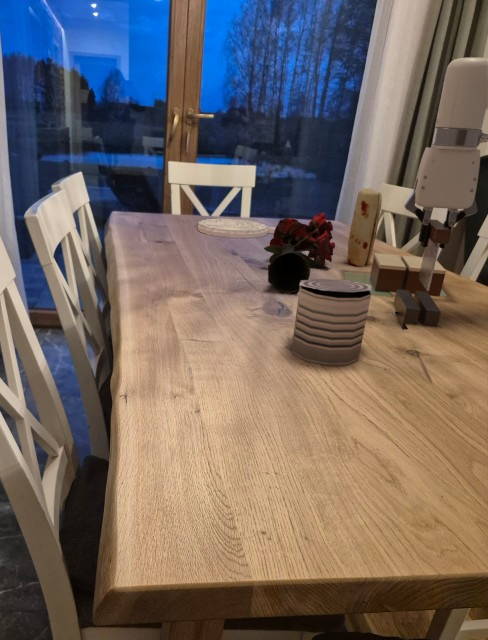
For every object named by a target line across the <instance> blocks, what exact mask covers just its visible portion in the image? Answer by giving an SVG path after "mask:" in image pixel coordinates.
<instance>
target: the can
mask: <svg viewBox="0 0 488 640" xmlns="http://www.w3.org/2000/svg"><path fill="white" fill-rule="evenodd" d="M369 290H373V289H372V287H371V285H368V284H363V283H358V282H353V281H347V280H346V279H330V278H314V279H309V280H301V281H300V290H298V296H297V297H298V298H297V303H296V304H297V306H296V313H295V320H294V328H293V333H292V342H291V352H292V353H293V354H292V353H291V354H292V355H294V356H296V357H297V356H298V357H297V358H299V357H300V358H299V359H301V360H302V361H304V360H305V361H304V362H307V361H309V363H312V362H313V364H317V365H322V366H327V367H328V366H329V367H330V366H349V365H351V364H353V363H356V362H358V361H359V359H360V355H361V354H360V353H361V349H362V345H363V338H364V335H365V334H364V333H365V328H366V324H367V323H366V322H367V318H368V312H369V307H370V302H371V296H372V295H371V293H370V291H369Z"/></svg>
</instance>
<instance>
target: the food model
mask: <svg viewBox="0 0 488 640" xmlns="http://www.w3.org/2000/svg"><path fill="white" fill-rule="evenodd" d="M382 202H383V196H382V193H381V192H380V191H377V190H375V189H373V188H366V187H364V188H363V187H362V189H360V190H359V191H358V193H357V196H356V201H355V205H354V210H353V214H352V219H351V225H350V230H349V235H348V240H347V263H348V265H350V266H353V267H364V266H366V265H367V266H369V265H370V263H371V259H372V255H373V251H374V245H375V241H376V238H377V237H376V236H377V232H378V226H379V220H380V215H381V210H382Z"/></svg>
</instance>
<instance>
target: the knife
mask: <svg viewBox="0 0 488 640" xmlns="http://www.w3.org/2000/svg"><path fill="white" fill-rule="evenodd" d="M430 222H431V223H430V226H431V231H430V235H429V241H428V246H427V247H424V251H423V256H422V257H423V260H422V264H421V269H420V273H419V280H420V281H421V283H422V284H423V286H424V287H425V289H426V290H427V291H429V288H430V284H431V279H432V275H433V271H434V267H435V262H436V260H437V258H438V254H439V248H440V247H439V245H440V243H442V244H445V245H448V244H449V242H448V239H449V240H450V238H449V235H450V236H451V234H450V231H451V232H452V230H450V229H448V228H447V227H446V226H445V225H443V224H444V223H442V222H441V221H440V220H439V219H431V218H430ZM447 243H448V244H447Z"/></svg>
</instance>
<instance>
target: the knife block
mask: <svg viewBox="0 0 488 640" xmlns="http://www.w3.org/2000/svg"><path fill="white" fill-rule="evenodd" d="M393 306H394V308H395V311H394V313H395V315H396V318H397V319H398V322H399V324H400V326H401V328H402V329H404V330H405V329H406V330H408V326H407V325H412V326H413V325H414V326H416V325H418V321H419V320H420V322H421V324H422V325H423V326H424V327H434V328H438V325H439V322H440V319H441V313H442V311H441V310H440V308H439V306H438V305H437V304H436V302H435V301H434V300H433V298H432V296H431V295H429V294H428V292H420V291H415V294H411V293H410V291H409V290H399V289H397V291H396V292H395V296H394V301H393Z"/></svg>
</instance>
